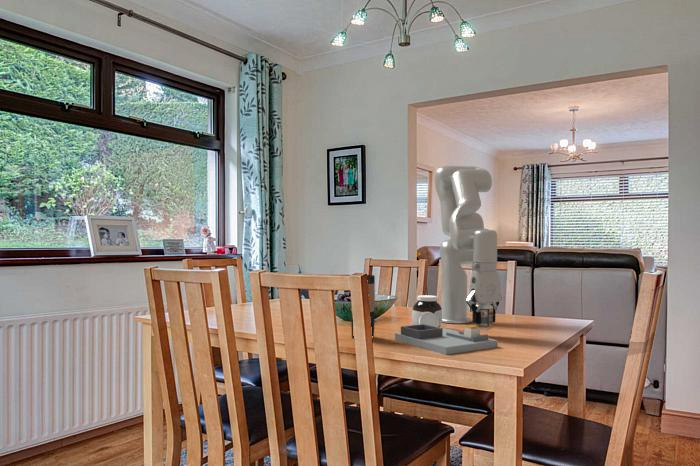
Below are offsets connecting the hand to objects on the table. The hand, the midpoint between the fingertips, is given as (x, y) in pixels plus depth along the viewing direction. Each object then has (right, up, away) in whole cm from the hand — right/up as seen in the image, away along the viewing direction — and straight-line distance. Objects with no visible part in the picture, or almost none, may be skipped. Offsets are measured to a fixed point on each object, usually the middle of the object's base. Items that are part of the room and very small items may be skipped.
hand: (483, 322), depth 172 cm
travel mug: (-40, -5, -3) cm, 40 cm away
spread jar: (-16, -5, +11) cm, 21 cm away
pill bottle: (0, -2, 0) cm, 2 cm away
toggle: (-7, -2, -14) cm, 16 cm away
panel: (-15, -5, -11) cm, 19 cm away
